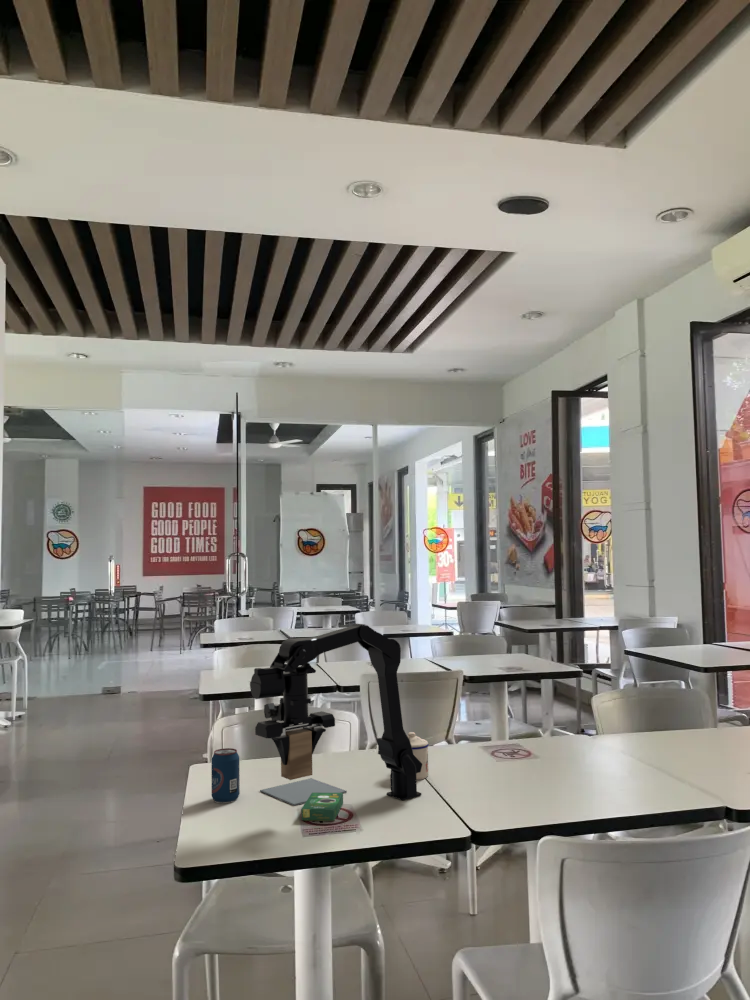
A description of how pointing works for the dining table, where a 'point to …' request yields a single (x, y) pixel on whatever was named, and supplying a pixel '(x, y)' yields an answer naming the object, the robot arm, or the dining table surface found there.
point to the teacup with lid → (420, 753)
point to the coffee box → (322, 806)
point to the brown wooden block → (298, 755)
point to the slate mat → (300, 791)
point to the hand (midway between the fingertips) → (296, 762)
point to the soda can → (225, 775)
